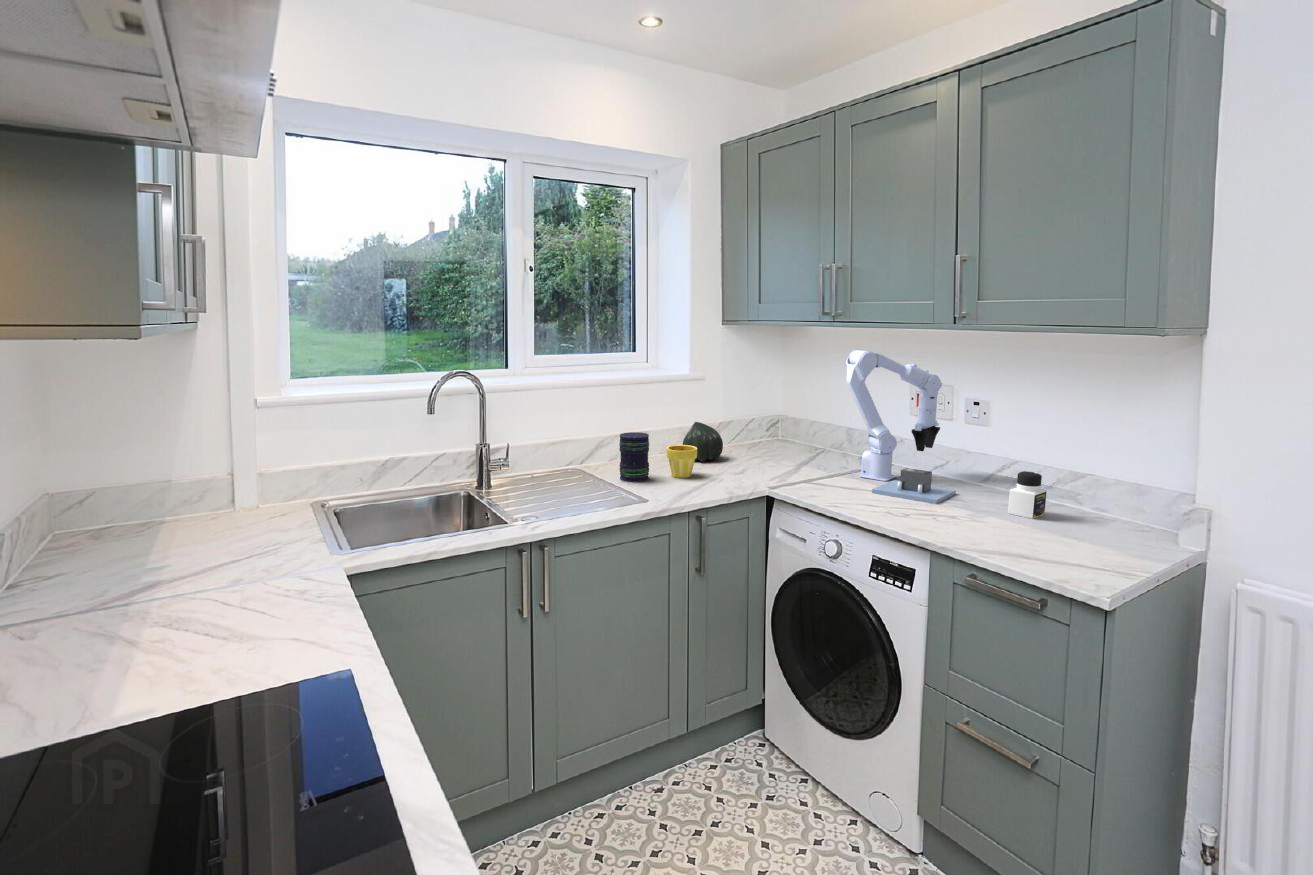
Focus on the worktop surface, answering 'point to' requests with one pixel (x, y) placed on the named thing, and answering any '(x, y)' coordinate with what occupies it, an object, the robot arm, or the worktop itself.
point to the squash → (704, 441)
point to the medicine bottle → (1027, 496)
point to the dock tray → (931, 497)
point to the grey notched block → (916, 479)
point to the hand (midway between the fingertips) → (924, 449)
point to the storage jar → (634, 457)
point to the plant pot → (681, 460)
